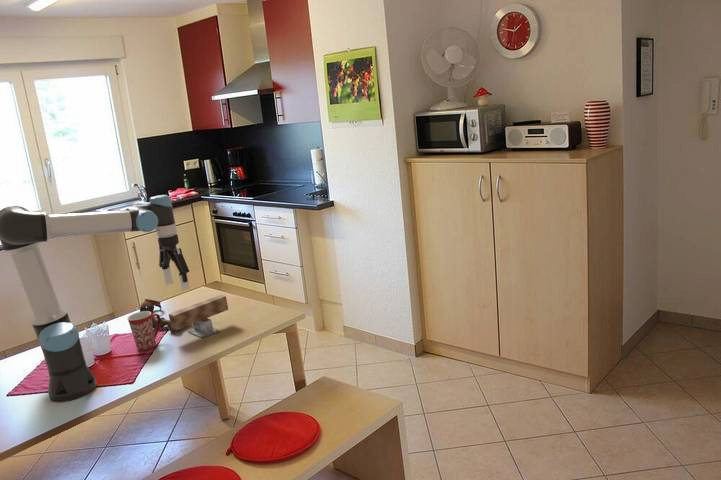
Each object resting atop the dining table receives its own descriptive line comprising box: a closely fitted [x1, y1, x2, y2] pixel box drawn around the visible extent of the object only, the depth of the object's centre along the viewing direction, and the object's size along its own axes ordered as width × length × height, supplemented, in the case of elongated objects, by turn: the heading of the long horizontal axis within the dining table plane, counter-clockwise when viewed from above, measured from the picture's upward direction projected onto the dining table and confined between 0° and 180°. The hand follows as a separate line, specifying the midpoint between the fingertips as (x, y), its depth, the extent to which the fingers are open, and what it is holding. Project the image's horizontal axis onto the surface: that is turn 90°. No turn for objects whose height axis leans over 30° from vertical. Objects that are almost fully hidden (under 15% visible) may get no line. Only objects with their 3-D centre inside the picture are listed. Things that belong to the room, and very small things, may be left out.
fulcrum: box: [187, 317, 221, 339], centre depth 243 cm, size 8×12×6 cm, turn 44°
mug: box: [126, 311, 162, 351], centre depth 236 cm, size 13×9×14 cm
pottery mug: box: [139, 298, 162, 315], centre depth 273 cm, size 12×10×8 cm
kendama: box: [152, 316, 180, 334], centre depth 252 cm, size 6×10×20 cm
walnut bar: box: [168, 294, 229, 330], centre depth 242 cm, size 24×4×6 cm, turn 134°
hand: (177, 287), depth 234 cm, fingers open, 13 cm apart
